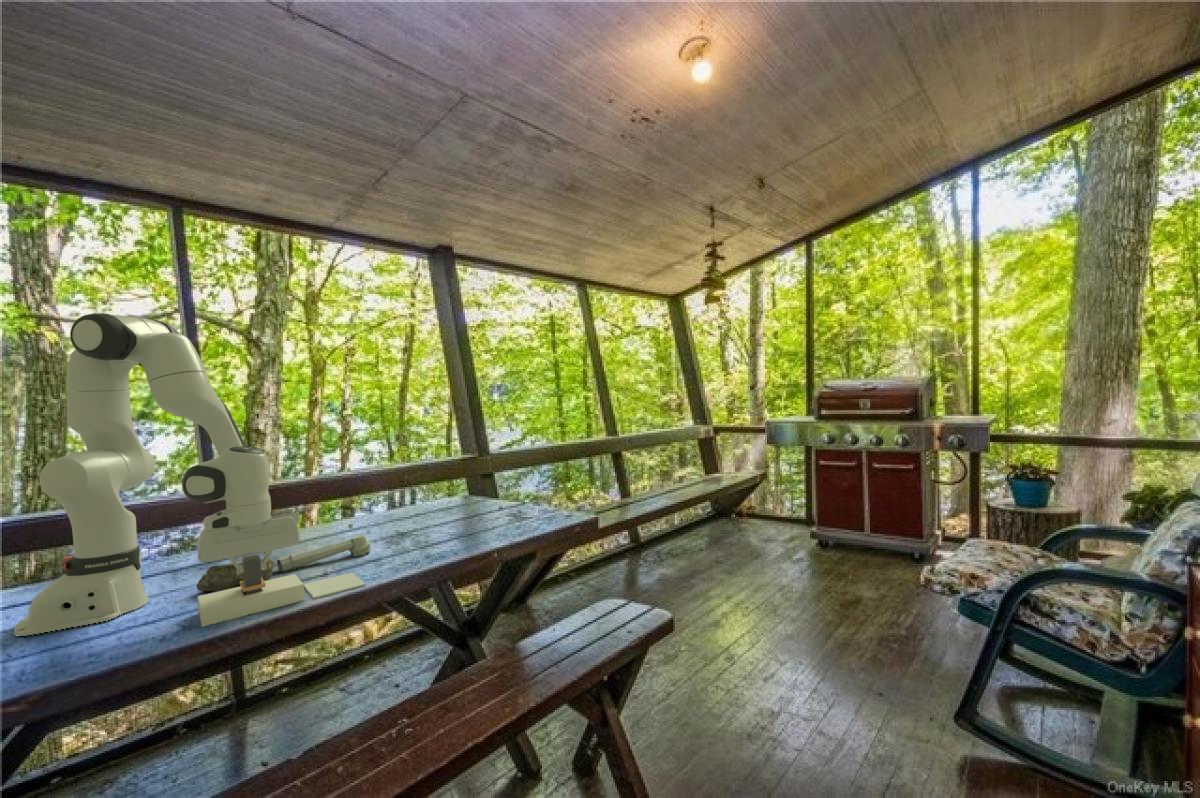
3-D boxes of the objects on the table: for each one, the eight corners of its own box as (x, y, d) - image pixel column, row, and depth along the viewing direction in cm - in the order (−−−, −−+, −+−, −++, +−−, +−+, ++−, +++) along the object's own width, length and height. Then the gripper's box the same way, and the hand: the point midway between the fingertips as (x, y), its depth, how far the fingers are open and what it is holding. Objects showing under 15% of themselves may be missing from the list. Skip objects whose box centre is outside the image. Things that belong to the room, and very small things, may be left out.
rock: (273, 556, 149) (275, 555, 141) (274, 581, 147) (275, 581, 139) (198, 568, 139) (195, 567, 131) (197, 594, 137) (195, 595, 129)
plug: (244, 609, 121) (242, 562, 120) (240, 601, 125) (238, 556, 125) (266, 604, 123) (264, 558, 123) (262, 596, 128) (260, 552, 128)
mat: (314, 599, 128) (314, 597, 128) (303, 586, 137) (303, 584, 137) (365, 585, 135) (365, 583, 135) (352, 574, 144) (352, 572, 144)
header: (201, 626, 114) (200, 608, 114) (198, 613, 121) (197, 596, 121) (304, 600, 127) (303, 584, 127) (295, 589, 135) (295, 574, 134)
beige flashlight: (275, 557, 151) (365, 528, 166) (280, 579, 151) (368, 548, 167) (278, 561, 147) (369, 531, 162) (283, 583, 147) (373, 551, 163)
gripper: (296, 504, 133) (298, 558, 133) (195, 519, 120) (198, 579, 120) (301, 508, 128) (303, 564, 129) (197, 524, 115) (199, 586, 115)
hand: (251, 571), depth 124 cm, fingers closed on plug, 3 cm apart
